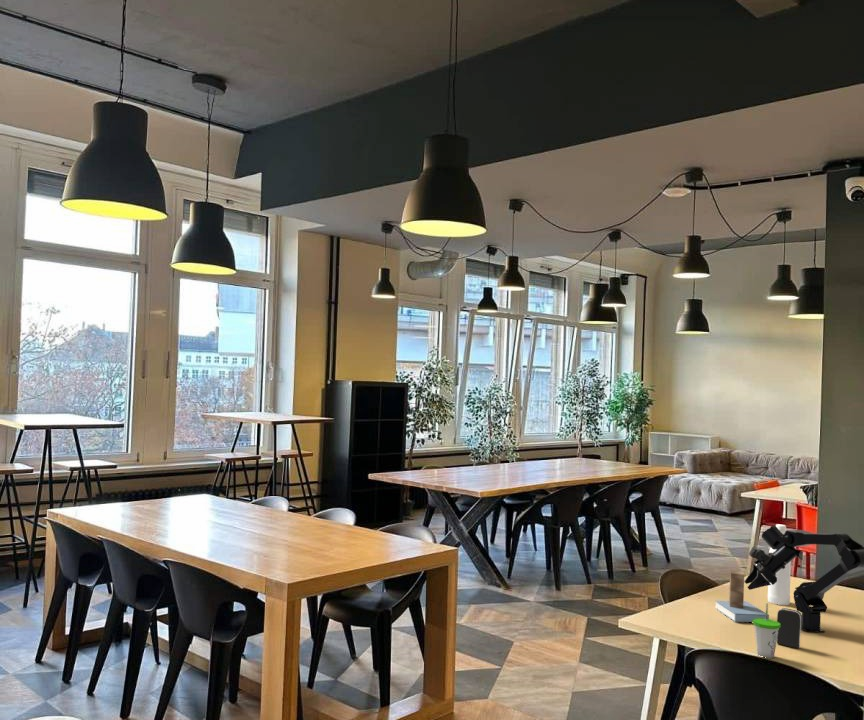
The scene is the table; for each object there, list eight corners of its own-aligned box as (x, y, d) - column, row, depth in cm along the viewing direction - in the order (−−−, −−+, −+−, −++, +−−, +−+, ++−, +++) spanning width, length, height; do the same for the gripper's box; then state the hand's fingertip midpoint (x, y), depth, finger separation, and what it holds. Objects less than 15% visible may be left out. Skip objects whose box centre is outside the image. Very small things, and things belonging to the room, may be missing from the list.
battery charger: (802, 646, 247) (803, 610, 247) (799, 649, 244) (800, 612, 244) (778, 641, 251) (780, 606, 251) (775, 644, 248) (776, 608, 248)
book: (768, 623, 271) (769, 614, 271) (735, 622, 271) (735, 613, 271) (746, 609, 288) (746, 601, 288) (715, 608, 287) (715, 600, 288)
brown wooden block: (742, 605, 283) (743, 572, 283) (743, 608, 278) (744, 574, 279) (729, 603, 284) (730, 570, 285) (729, 606, 280) (730, 573, 280)
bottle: (768, 604, 298) (771, 525, 299) (766, 599, 305) (768, 522, 306) (791, 606, 295) (793, 527, 297) (788, 601, 303) (790, 524, 304)
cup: (770, 662, 230) (772, 611, 231) (746, 654, 237) (747, 604, 237) (784, 658, 235) (786, 608, 236) (760, 650, 241) (762, 601, 242)
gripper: (760, 536, 288) (727, 563, 291) (767, 545, 270) (733, 573, 273) (782, 559, 286) (749, 586, 288) (791, 570, 268) (756, 598, 270)
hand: (746, 585), depth 280 cm, fingers open, 9 cm apart
